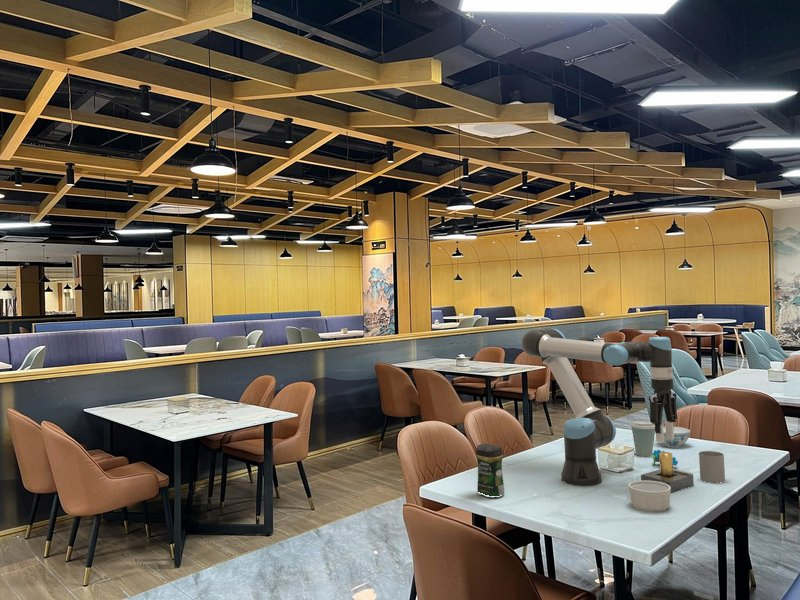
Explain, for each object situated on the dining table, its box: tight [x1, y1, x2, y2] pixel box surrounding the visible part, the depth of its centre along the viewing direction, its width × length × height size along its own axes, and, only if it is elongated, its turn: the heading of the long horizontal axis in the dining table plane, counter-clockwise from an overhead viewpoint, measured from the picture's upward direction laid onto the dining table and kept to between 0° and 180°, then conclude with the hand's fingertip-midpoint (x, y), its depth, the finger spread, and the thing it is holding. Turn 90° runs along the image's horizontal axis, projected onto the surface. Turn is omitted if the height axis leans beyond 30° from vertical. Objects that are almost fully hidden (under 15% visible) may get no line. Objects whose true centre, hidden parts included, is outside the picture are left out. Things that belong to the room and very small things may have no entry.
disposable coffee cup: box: [630, 420, 656, 458], centre depth 261 cm, size 11×11×15 cm
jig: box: [640, 468, 695, 494], centre depth 216 cm, size 14×12×5 cm
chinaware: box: [663, 426, 691, 448], centre depth 275 cm, size 15×15×8 cm
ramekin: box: [627, 480, 671, 513], centre depth 195 cm, size 13×13×7 cm
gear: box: [651, 449, 679, 469], centre depth 241 cm, size 11×6×10 cm
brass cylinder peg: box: [659, 451, 674, 478], centre depth 216 cm, size 4×4×12 cm
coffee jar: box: [475, 443, 505, 496], centre depth 214 cm, size 10×8×19 cm
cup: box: [698, 450, 726, 484], centre depth 221 cm, size 8×8×10 cm
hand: (665, 440), depth 216 cm, fingers open, 5 cm apart
